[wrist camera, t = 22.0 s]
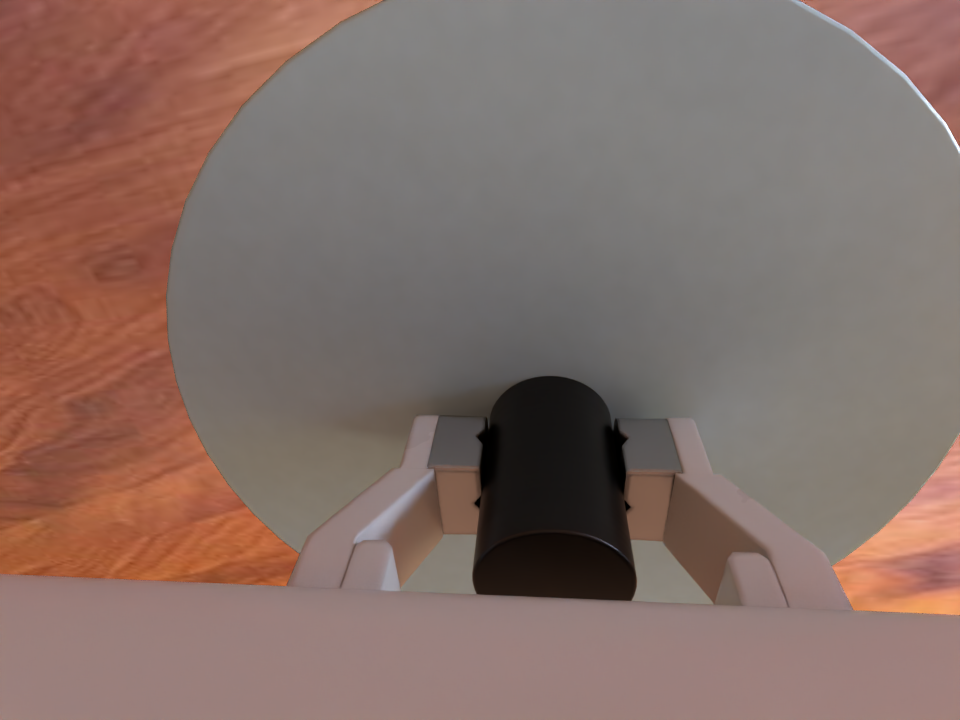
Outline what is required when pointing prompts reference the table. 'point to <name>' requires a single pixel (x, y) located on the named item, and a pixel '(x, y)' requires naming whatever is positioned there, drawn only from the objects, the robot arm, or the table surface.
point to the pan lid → (576, 275)
